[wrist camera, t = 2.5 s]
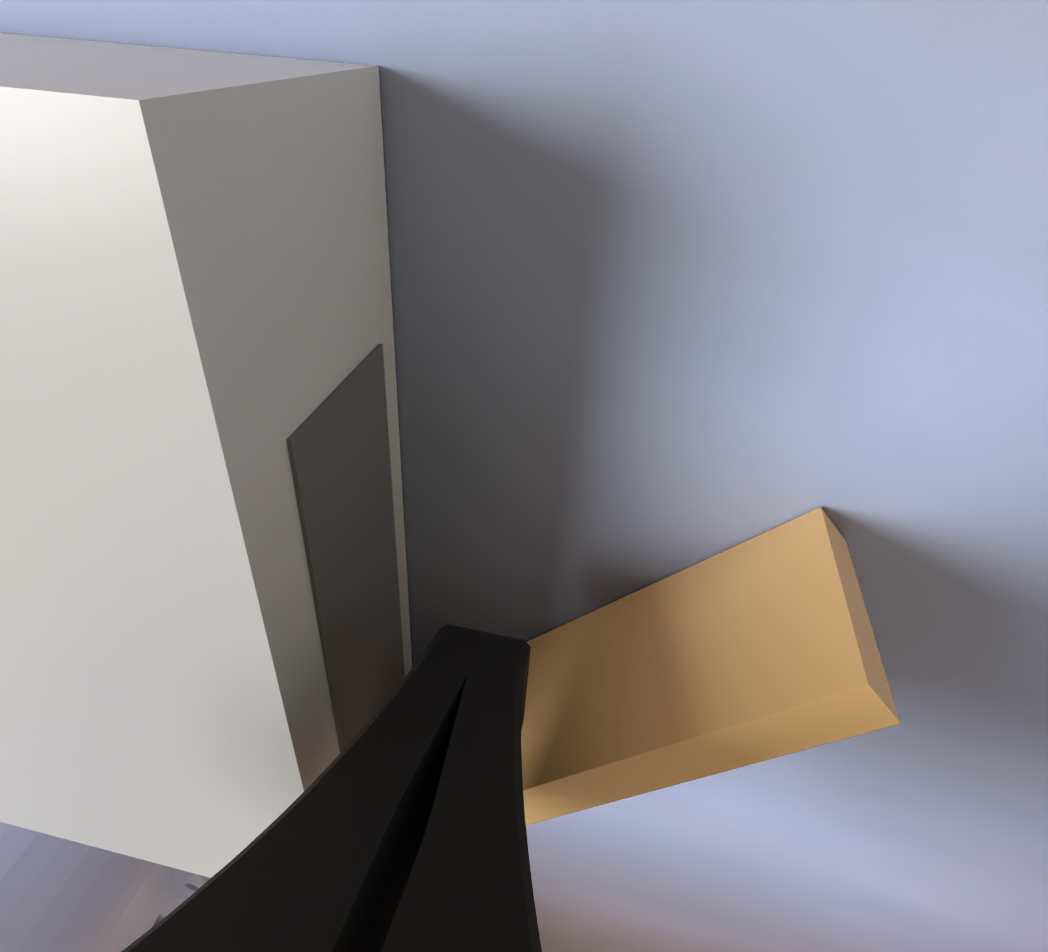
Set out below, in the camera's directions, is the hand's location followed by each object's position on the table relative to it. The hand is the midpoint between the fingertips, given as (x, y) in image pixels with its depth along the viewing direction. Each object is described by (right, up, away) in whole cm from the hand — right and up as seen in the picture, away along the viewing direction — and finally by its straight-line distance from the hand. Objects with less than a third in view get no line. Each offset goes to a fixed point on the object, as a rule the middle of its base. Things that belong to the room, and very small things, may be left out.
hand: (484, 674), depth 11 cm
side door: (+2, 0, +3) cm, 3 cm away
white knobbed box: (-6, +4, +2) cm, 7 cm away
